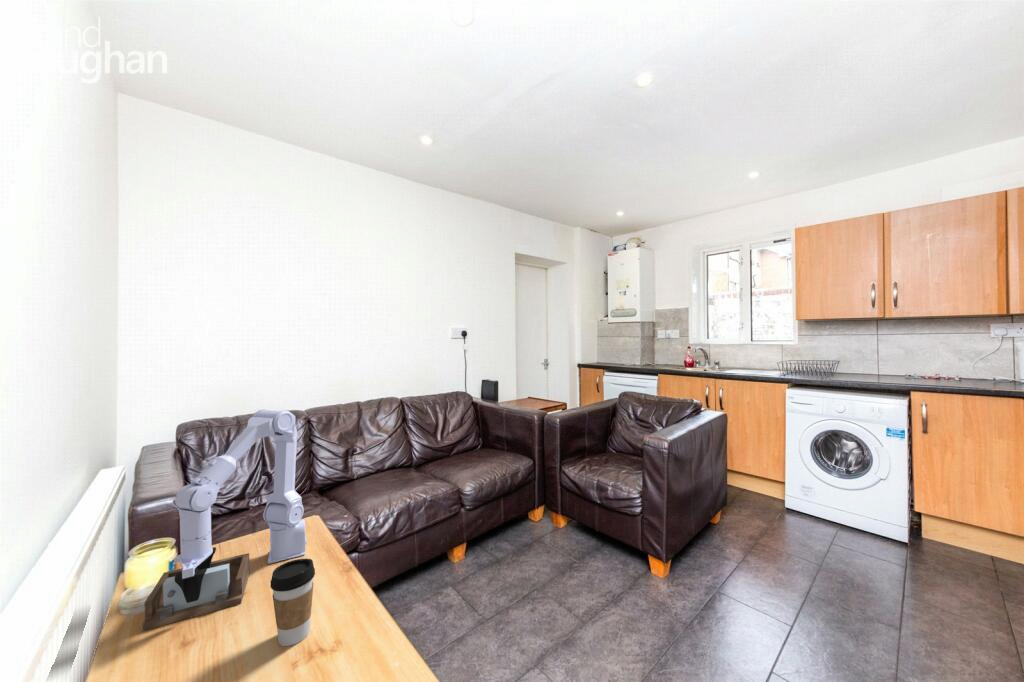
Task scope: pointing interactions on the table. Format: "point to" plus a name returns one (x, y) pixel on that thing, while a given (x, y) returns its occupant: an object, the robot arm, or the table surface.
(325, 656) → the table surface
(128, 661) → the table surface
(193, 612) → the cabinet
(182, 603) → the door
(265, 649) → the table surface
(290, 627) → the coffee cup
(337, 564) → the table surface
